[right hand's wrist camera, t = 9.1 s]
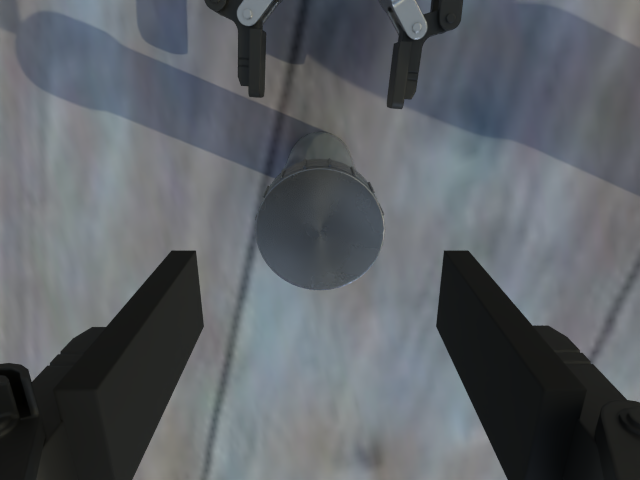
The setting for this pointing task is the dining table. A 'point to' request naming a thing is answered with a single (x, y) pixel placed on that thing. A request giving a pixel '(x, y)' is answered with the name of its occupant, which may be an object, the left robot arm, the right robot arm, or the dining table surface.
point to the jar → (319, 149)
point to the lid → (320, 225)
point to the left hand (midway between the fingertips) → (326, 102)
